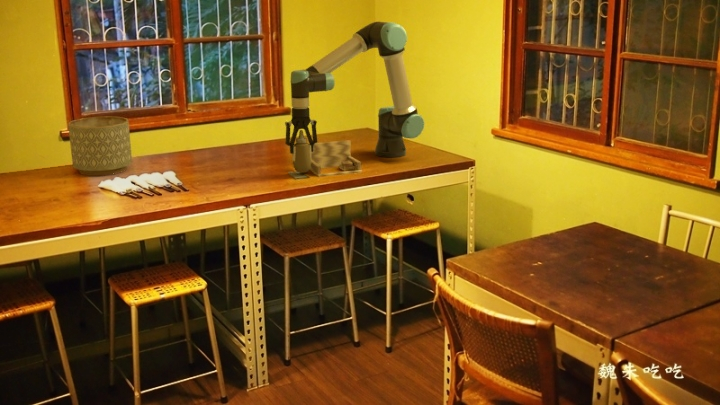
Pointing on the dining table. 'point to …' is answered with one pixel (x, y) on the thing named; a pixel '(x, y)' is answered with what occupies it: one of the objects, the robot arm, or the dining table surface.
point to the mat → (298, 175)
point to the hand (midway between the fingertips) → (302, 160)
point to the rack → (332, 157)
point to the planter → (100, 145)
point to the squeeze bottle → (302, 154)
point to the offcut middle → (346, 168)
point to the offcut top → (347, 163)
